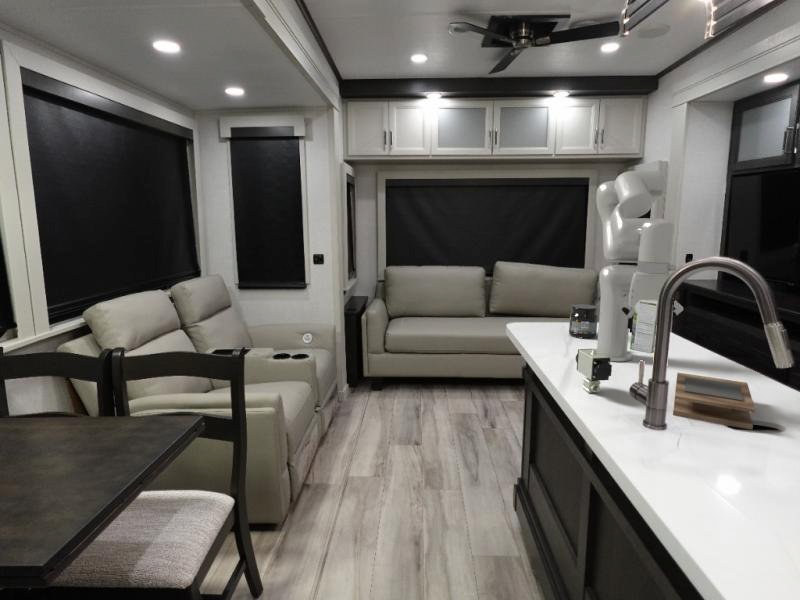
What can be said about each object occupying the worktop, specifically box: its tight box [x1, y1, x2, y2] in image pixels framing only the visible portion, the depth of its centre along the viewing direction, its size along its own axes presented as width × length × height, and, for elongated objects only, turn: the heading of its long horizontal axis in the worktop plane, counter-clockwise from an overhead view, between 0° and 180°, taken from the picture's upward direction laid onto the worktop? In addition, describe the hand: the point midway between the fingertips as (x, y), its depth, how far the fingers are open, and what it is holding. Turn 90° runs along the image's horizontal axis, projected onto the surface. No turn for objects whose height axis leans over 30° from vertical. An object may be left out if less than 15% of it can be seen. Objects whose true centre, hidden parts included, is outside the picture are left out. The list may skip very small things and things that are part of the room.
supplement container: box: [568, 303, 599, 339], centre depth 193 cm, size 10×10×12 cm
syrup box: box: [629, 299, 658, 355], centre depth 130 cm, size 6×6×14 cm
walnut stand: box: [672, 371, 756, 431], centre depth 123 cm, size 20×16×5 cm
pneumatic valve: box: [575, 348, 613, 394], centre depth 134 cm, size 6×12×12 cm, turn 7°
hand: (646, 332), depth 131 cm, fingers closed on syrup box, 6 cm apart
